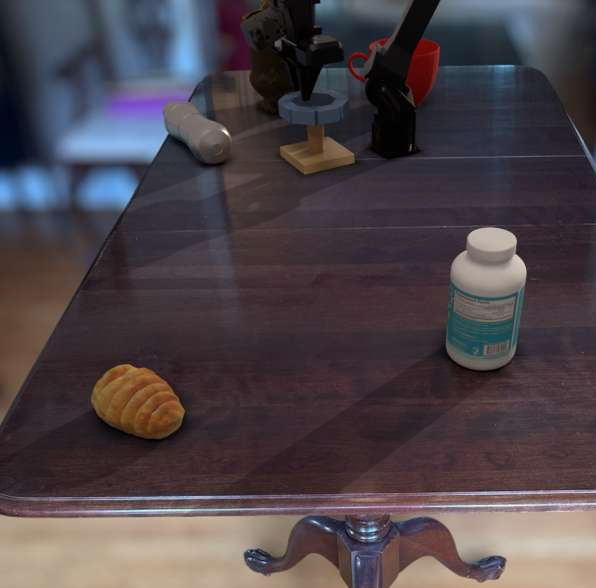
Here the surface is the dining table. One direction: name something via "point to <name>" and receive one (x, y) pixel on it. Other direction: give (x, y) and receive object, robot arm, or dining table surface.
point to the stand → (316, 152)
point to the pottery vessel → (268, 71)
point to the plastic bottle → (197, 132)
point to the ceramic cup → (412, 68)
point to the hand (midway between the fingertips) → (302, 98)
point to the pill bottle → (485, 300)
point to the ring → (328, 112)
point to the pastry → (137, 402)
